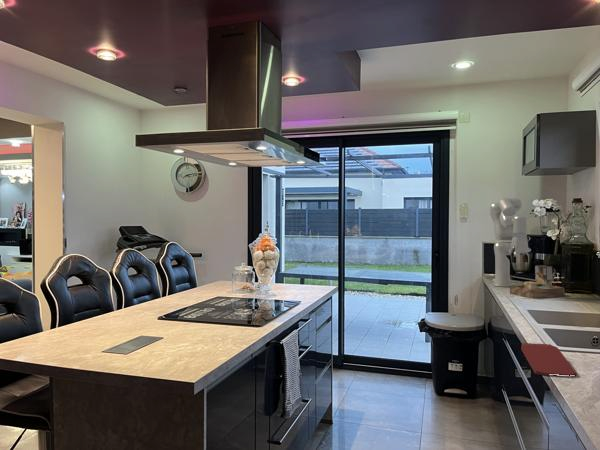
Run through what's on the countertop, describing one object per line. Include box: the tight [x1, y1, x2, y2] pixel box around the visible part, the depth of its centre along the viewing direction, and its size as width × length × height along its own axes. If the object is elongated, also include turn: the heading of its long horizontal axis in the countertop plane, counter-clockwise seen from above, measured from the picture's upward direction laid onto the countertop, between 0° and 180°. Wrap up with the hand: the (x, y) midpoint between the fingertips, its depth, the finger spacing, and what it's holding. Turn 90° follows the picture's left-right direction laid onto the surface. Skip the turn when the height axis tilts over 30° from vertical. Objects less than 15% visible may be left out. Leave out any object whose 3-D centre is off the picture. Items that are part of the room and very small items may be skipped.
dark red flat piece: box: [520, 342, 577, 377], centre depth 159 cm, size 12×5×25 cm
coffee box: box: [534, 264, 554, 286], centre depth 310 cm, size 9×6×16 cm
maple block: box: [523, 281, 537, 289], centre depth 295 cm, size 5×5×4 cm
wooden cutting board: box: [509, 284, 566, 299], centre depth 291 cm, size 18×26×5 cm
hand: (519, 262), depth 291 cm, fingers open, 9 cm apart
